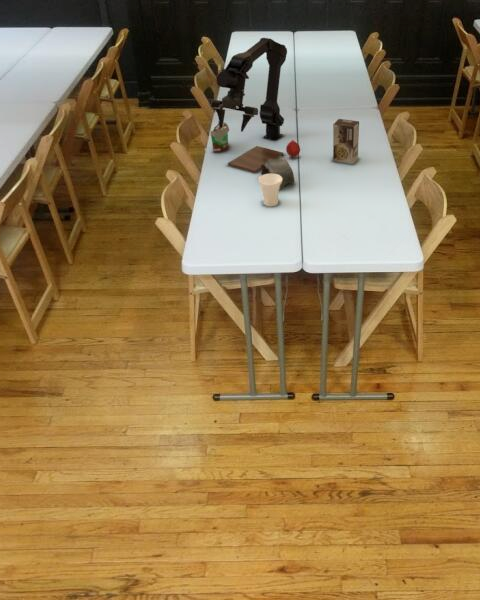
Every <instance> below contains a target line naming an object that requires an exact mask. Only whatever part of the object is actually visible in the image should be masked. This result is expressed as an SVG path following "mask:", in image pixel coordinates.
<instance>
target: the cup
mask: <svg viewBox="0 0 480 600" xmlns="http://www.w3.org/2000/svg"><path fill="white" fill-rule="evenodd" d="M257 181H258V183H259V185H260V188H261V192H262V196H263V197H262V199H263V201H262V203H263V205H264V206H265V207H275V206H277V205H278V204H279V191H280V189H279V188H280V184H281V183H282V177H281V176H280V175H278V174H264V175H262V174H261V175H260V176H259V177H258V179H257Z"/></svg>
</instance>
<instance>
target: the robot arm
mask: <svg viewBox="0 0 480 600" xmlns="http://www.w3.org/2000/svg"><path fill="white" fill-rule="evenodd" d="M264 54H266V57H265V58H266V59H265V60H267V63H268V75H267V76H268V77H267V83H266V94H265V101H264V102H263V103H262V104H260V106H259V109H258V107H255V106H249V105H248V106H247V105H245V106H244V103H243V100H244V97H245V95H246V93H245V87H246V82H247V81H246V80H249V79H250V77H249V75H248V74H247V73H248V72H249V71H250V70H251V69H252V68H253V65H254V62H256V61H257V60H258V59H259V58H260V57H262V56H263V55H264ZM287 55H288V48H287V47H286V45H285V44H282V43H279V42H277V41H275V40H274V39H272V38H269V37H261V38H260V40H258V41H257V42H256V43H254V44H253V45H252V46H251V47H250V48H249V49H247V50H246V51H244V52H239V53H236V54H234V55H233V56H232V57H231V58H230V60H229V61H228V64H227V65H226V67H225V68H221V71H220V72H219V73H218V74H217V76H216V84H217V86H219V88H224V89H225V88H226V89H229V90H228V91H227V93H226V95H224V96H223V97H222V98H221V100H220V99H219V100H218V99H212V100H211V102H210V105H209V106H210V107H211V108H212V109H213V110H214V111H215V112H216V114H217V117H218V121H219V123H220V127H222V126H223V122H225V121H224V120H225V116H226V109H229V110H233V111H239V112H244V113H243V114H242V121H241V125H240V132H241V133H242V132H244V130H245V128H246V127H247V125H248V123H249V122H250V120H251V119H252V118H255V116H259V118H260V121H261V123H262V124H264V125H265V135H264V136H263V138H264V139H268V140H271V141H277V140H278V139H280V138H282V137H283V136H284V134H282V133H281V127H282V126H283V125H284V122H285V118H284V117H283V116H282V115H281V108H280V106H279V104H278V96H279V87H280V78H281V71H282V66H283V65H284V64H285V62H286V59H287Z"/></svg>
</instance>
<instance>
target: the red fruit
mask: <svg viewBox="0 0 480 600" xmlns="http://www.w3.org/2000/svg"><path fill="white" fill-rule="evenodd" d="M285 152H286V154H287V155H288V156H289V157H291V158H292V159H295V158H296V157H297V156H298V155H299V154H300V152H301V147H300V144H299V143H298V142H297V141H296V140H294V139H291V140H290V141H289V142H288V144H287V145H286V148H285Z"/></svg>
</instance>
